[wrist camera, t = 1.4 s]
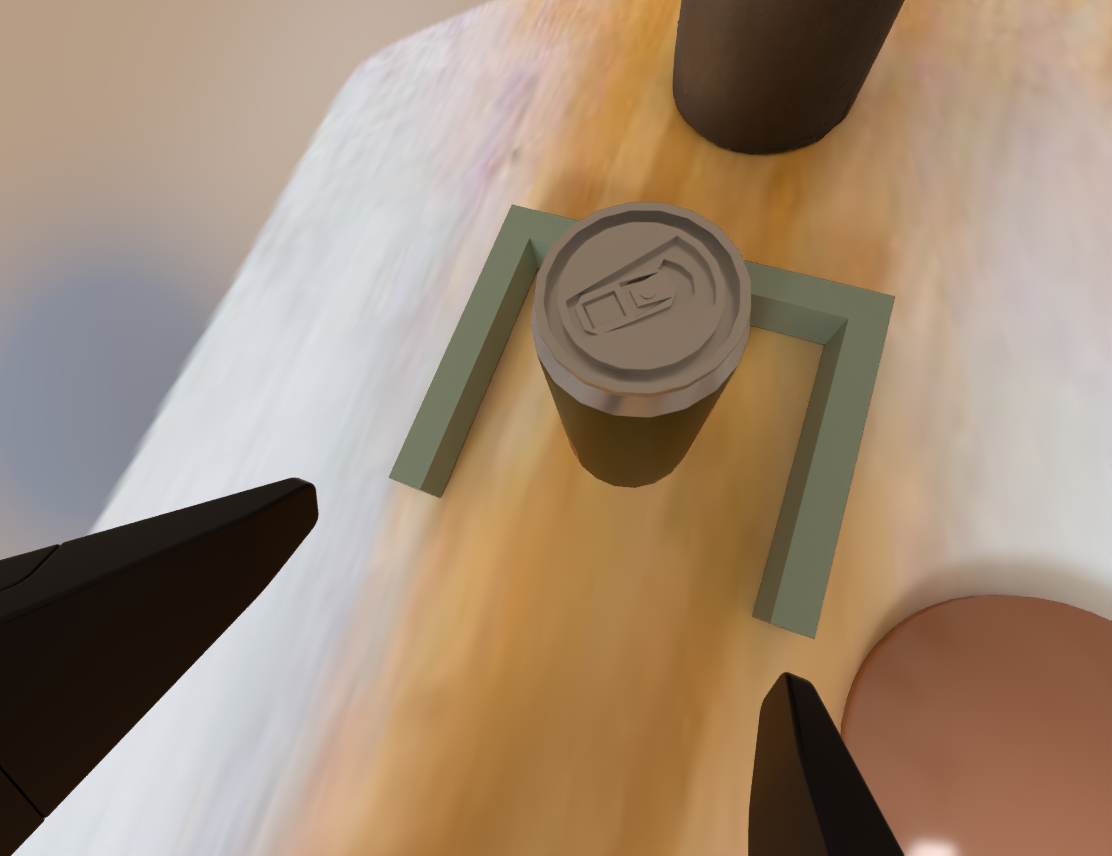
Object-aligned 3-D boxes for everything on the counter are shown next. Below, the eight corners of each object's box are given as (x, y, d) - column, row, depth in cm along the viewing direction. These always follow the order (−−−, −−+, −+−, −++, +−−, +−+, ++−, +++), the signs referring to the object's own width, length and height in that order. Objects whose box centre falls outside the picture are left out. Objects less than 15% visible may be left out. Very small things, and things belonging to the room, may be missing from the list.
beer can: (596, 508, 22) (574, 442, 11) (552, 402, 24) (492, 245, 12) (709, 463, 22) (809, 346, 11) (658, 359, 24) (697, 161, 12)
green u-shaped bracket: (790, 631, 20) (814, 639, 18) (411, 487, 23) (388, 477, 21) (866, 325, 23) (895, 296, 21) (521, 237, 26) (511, 204, 24)
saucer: (1066, 1133, 15) (1089, 1162, 15) (763, 736, 19) (770, 743, 18) (1356, 852, 16) (1393, 866, 16) (1014, 526, 20) (1030, 524, 19)
